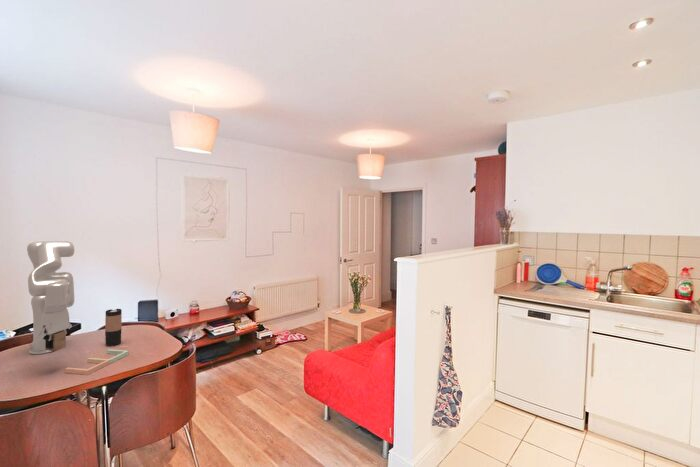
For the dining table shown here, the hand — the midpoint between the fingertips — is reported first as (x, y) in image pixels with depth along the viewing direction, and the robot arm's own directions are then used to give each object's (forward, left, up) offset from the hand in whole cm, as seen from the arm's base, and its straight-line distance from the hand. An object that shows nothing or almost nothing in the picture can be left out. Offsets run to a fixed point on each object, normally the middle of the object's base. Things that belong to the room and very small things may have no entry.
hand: (55, 345), depth 150 cm
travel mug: (-1, +33, -12) cm, 36 cm away
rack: (+13, +10, -12) cm, 20 cm away
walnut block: (0, 0, -2) cm, 2 cm away
